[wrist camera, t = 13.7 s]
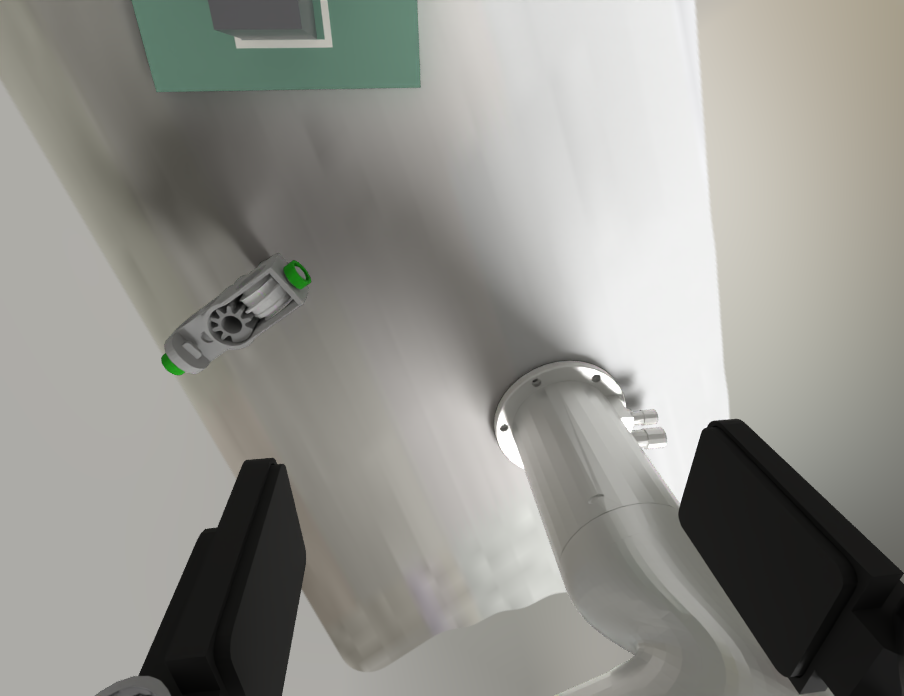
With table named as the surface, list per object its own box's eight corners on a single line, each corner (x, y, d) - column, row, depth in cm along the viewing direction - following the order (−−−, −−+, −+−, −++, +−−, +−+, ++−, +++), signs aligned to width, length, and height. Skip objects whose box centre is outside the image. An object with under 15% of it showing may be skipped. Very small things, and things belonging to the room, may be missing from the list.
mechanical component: (204, 292, 37) (145, 355, 28) (308, 214, 35) (279, 256, 26) (233, 320, 38) (186, 389, 29) (335, 247, 36) (316, 297, 27)
